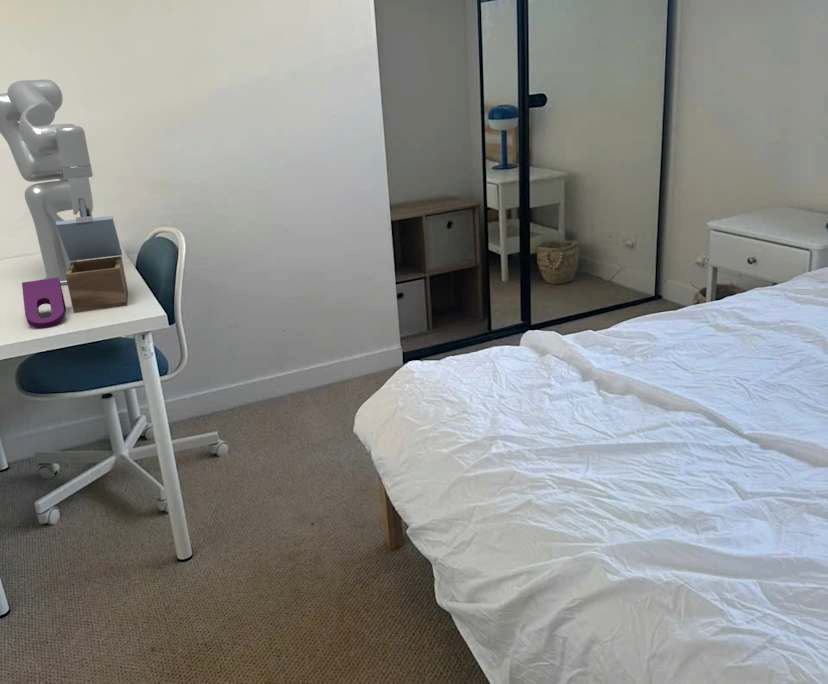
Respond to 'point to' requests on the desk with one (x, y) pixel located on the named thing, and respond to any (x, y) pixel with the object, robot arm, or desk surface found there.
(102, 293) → the storage box
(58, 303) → the mounting bracket
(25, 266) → the desk surface
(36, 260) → the desk surface
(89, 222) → the lid
